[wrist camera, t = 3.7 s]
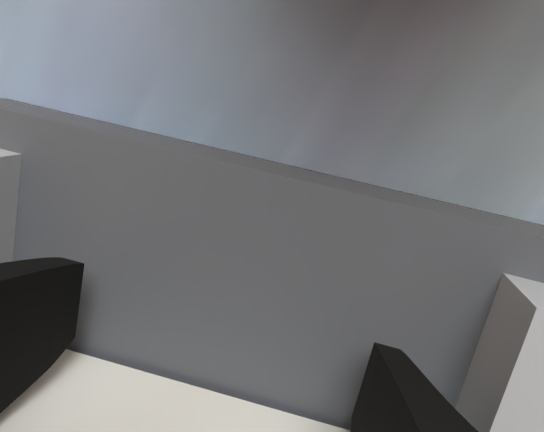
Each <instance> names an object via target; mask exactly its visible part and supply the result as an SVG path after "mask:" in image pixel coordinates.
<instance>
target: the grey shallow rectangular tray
mask: <svg viewBox="0 0 544 432" xmlns="http://www.w3.org/2000/svg"><path fill="white" fill-rule="evenodd" d="M47 257H62V258H66V259H70V260H73V261H77V262H81V263H85V264H84V272H83V280H82V287H81V295H80V303H79V311H78V318H77V326H76V334H75V338H74V339H73V341H72V342H71V343H70V344H69V346H68V347H67V348H66V349H67V350H71V351H74V352H78V353H81V354H85V355H88V356H92V357H95V358H99V359H102V360H106V361H109V362H113V363H116V364H120V365H123V366H127V367H130V368H134V369H137V370H141V371H144V372H148V373H151V374H155V375H158V376H162V377H165V378H169V379H172V380H176V381H179V382H183V383H186V384H190V385H193V386H196V387H200V388H203V389H207V390H210V391H214V392H217V393H221V394H224V395H228V396H231V397H235V398H238V399H242V400H245V401H249V402H252V403H256V404H259V405H263V406H266V407H270V408H273V409H277V410H280V411H284V412H287V413H291V414H294V415H298V416H301V417H305V418H308V419H312V420H315V421H319V422H322V423H326V424H329V425H332V426H336V427H339V428H343V429H346V430H350V431H351V419H352V414H353V411H354V408H355V404H356V401H357V398H358V394H359V391H360V388H361V384H362V381H363V378H364V374H365V371H366V368H367V364H368V361H369V358H370V355H371V351H372V348H373V345H374V342H376V343H379V344H383V345H387V346H390V347H394V348H398V349H401V350H402V351H403V352H404V353H405V354H406V355H407V356H408V357H409V358H410V359H411V360H412V362H413V363H414V364H415V365H416V366H417V367H418V368H419V369H420V371H421V372H422V373H423V374H424V375H425V376H426V378H427V379H428V380H429V381H430V382H431V383H432V384H433V385H434V387H435V388H436V389H437V390H438V391H439V392H440V393H441V394H442V395H443V396H444V398H445V399H446V400H447V401H448V402H449V403H450V404H451V405H452V406H453V407H454V408H455V409H456V410H457V411H458V412H459V413H460V414H461V415H462V416H463V417H464V418H465V419H466V420H467V421H468V422H469V423H470V424H471V425H472V426H473V427H474V428H475V429H476V430H477V431H478V432H544V225H539V224H535V223H531V222H527V221H523V220H518V219H514V218H510V217H506V216H501V215H497V214H493V213H489V212H484V211H480V210H476V209H472V208H467V207H463V206H459V205H455V204H450V203H446V202H442V201H438V200H434V199H429V198H425V197H421V196H417V195H412V194H408V193H404V192H400V191H395V190H391V189H387V188H383V187H378V186H374V185H370V184H366V183H362V182H357V181H353V180H349V179H345V178H340V177H336V176H332V175H328V174H323V173H319V172H315V171H311V170H306V169H302V168H298V167H294V166H289V165H285V164H281V163H277V162H273V161H268V160H264V159H260V158H256V157H251V156H247V155H243V154H239V153H234V152H230V151H226V150H222V149H217V148H213V147H209V146H205V145H201V144H196V143H192V142H188V141H184V140H179V139H175V138H171V137H167V136H162V135H158V134H154V133H150V132H145V131H141V130H137V129H133V128H128V127H124V126H120V125H116V124H112V123H107V122H103V121H99V120H95V119H90V118H86V117H82V116H78V115H73V114H69V113H65V112H61V111H56V110H52V109H48V108H44V107H40V106H35V105H31V104H27V103H23V102H18V101H14V100H10V99H0V263H4V262H12V261H19V260H27V259H35V258H47Z"/></svg>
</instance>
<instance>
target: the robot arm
mask: <svg viewBox="0 0 544 432" xmlns="http://www.w3.org/2000/svg"><path fill="white" fill-rule="evenodd" d="M84 264H85V263H81V262H77V261H73V260H70V259H66V258H62V257H47V258H35V259H27V260H19V261H12V262H4V263H0V413H1V412H2V411H3V410H5V409H6V408H7V407H8V406H9V405H10V404H11V403H12V402H13V401H15V400H16V399H17V398H18V397H19V396H20V395H21V394H22V393H24V392H25V391H26V390H27V389H28V388H29V387H30V386H31V385H32V384H33V383H34V382H35V381H37V380H38V379H39V378H40V377H41V376H42V375H43V374H44V373H45V372H46V371H47V370H48V369H49V368H50V367H51V366H52V365H53V364H54V363H55V362H56V360H57V359H58V358H59V357H60V356H61V355H62V353H63V352H64V351H65V350H66V348H67V347H68V346H69V344H70V343H71V342H72V341H73V339H74V338H75V334H76V326H77V318H78V311H79V303H80V295H81V287H82V280H83V272H84ZM351 432H478V431H477V430H476V429H475V428H474V427H473V426H472V425H471V424H470V423H469V422H468V421H467V420H466V419H465V418H464V417H463V416H462V415H461V414H460V413H459V412H458V411H457V410H456V409H455V408H454V407H453V406H452V405H451V404H450V403H449V402H448V401H447V400H446V399H445V398H444V396H443V395H442V394H441V393H440V392H439V391H438V390H437V389H436V388H435V387H434V385H433V384H432V383H431V382H430V381H429V380H428V379H427V378H426V376H425V375H424V374H423V373H422V372H421V371H420V369H419V368H418V367H417V366H416V365H415V364H414V363H413V362H412V360H411V359H410V358H409V357H408V356H407V355H406V354H405V353H404V352H403V351H402V350H401V349H398V348H394V347H390V346H387V345H383V344H379V343H376V342H374V345H373V348H372V351H371V355H370V358H369V361H368V364H367V368H366V371H365V374H364V378H363V381H362V384H361V388H360V391H359V394H358V398H357V401H356V404H355V408H354V411H353V414H352V419H351Z"/></svg>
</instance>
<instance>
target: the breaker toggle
mask: <svg viewBox="0 0 544 432" xmlns="http://www.w3.org/2000/svg"><path fill="white" fill-rule="evenodd" d="M0 432H351V431H350V430H346V429H343V428H339V427H336V426H332V425H329V424H326V423H322V422H319V421H315V420H312V419H308V418H305V417H301V416H298V415H294V414H291V413H287V412H284V411H280V410H277V409H273V408H270V407H266V406H263V405H259V404H256V403H252V402H249V401H245V400H242V399H238V398H235V397H231V396H228V395H224V394H221V393H217V392H214V391H210V390H207V389H203V388H200V387H196V386H193V385H190V384H186V383H183V382H179V381H176V380H172V379H169V378H165V377H162V376H158V375H155V374H151V373H148V372H144V371H141V370H137V369H134V368H130V367H127V366H123V365H120V364H116V363H113V362H109V361H106V360H102V359H99V358H95V357H92V356H88V355H85V354H81V353H78V352H74V351H71V350H67V349H66V350H65V351H64V352H63V353H62V355H61V356H60V357H59V358H58V359H57V360H56V362H55V363H54V364H53V365H52V366H51V367H50V368H49V369H48V370H47V371H46V372H45V373H44V374H43V375H42V376H41V377H40V378H39V379H38V380H37V381H35V382H34V383H33V384H32V385H31V386H30V387H29V388H28V389H27V390H26V391H25V392H24V393H22V394H21V395H20V396H19V397H18V398H17V399H16V400H15V401H13V402H12V403H11V404H10V405H9V406H8V407H7V408H6V409H5V410H3V411H2V412H1V413H0Z"/></svg>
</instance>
